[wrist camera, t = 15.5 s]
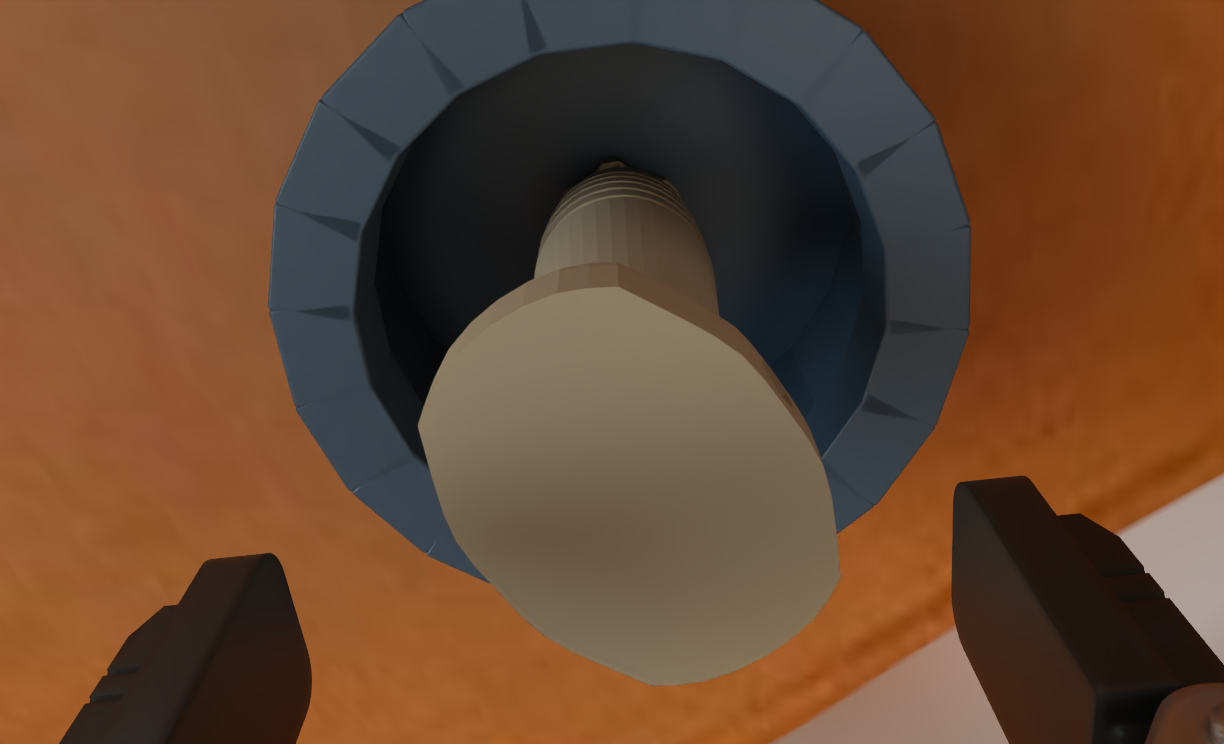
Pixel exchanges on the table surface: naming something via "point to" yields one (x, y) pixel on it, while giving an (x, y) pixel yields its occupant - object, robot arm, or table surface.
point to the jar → (645, 140)
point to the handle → (631, 450)
